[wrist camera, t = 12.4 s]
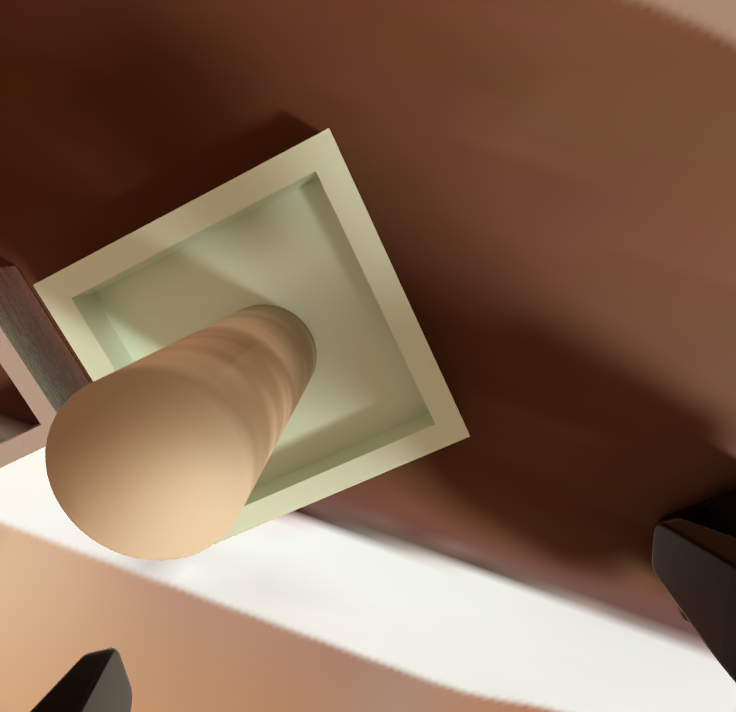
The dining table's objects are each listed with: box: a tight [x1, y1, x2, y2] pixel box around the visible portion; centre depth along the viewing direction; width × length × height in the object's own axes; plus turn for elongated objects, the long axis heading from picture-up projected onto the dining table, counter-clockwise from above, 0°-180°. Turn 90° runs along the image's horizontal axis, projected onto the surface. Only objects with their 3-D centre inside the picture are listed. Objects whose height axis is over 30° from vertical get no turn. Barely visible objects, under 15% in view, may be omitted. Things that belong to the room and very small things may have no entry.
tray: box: [33, 128, 470, 544], centre depth 19 cm, size 12×12×2 cm
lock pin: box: [45, 304, 317, 561], centre depth 14 cm, size 4×4×10 cm
